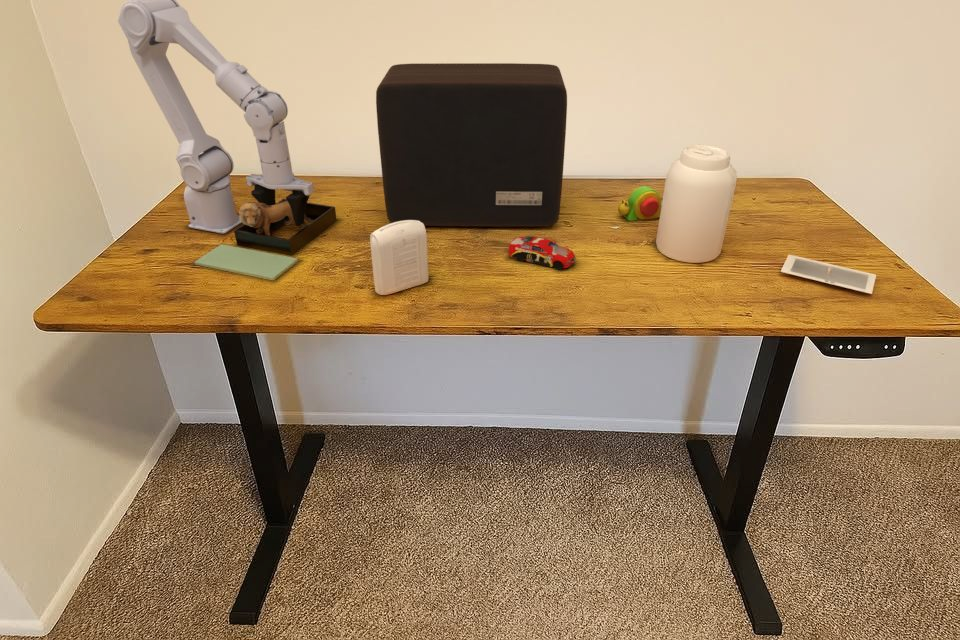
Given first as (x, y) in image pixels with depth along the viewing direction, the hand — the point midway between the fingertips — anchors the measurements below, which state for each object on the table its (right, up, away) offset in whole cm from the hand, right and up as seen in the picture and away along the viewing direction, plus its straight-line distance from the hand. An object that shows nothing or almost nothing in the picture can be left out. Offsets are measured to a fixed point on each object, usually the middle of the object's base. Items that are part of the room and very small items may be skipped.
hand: (286, 222), depth 134 cm
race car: (+52, -9, -9) cm, 53 cm away
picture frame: (0, -2, +1) cm, 2 cm away
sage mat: (-5, -9, -10) cm, 14 cm away
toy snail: (+79, +3, +8) cm, 79 cm away
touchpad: (+104, -13, -15) cm, 105 cm away
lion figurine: (-2, -2, 0) cm, 3 cm away
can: (+81, -6, -6) cm, 82 cm away
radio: (+39, +3, +9) cm, 40 cm away
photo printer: (+26, -14, -17) cm, 34 cm away
